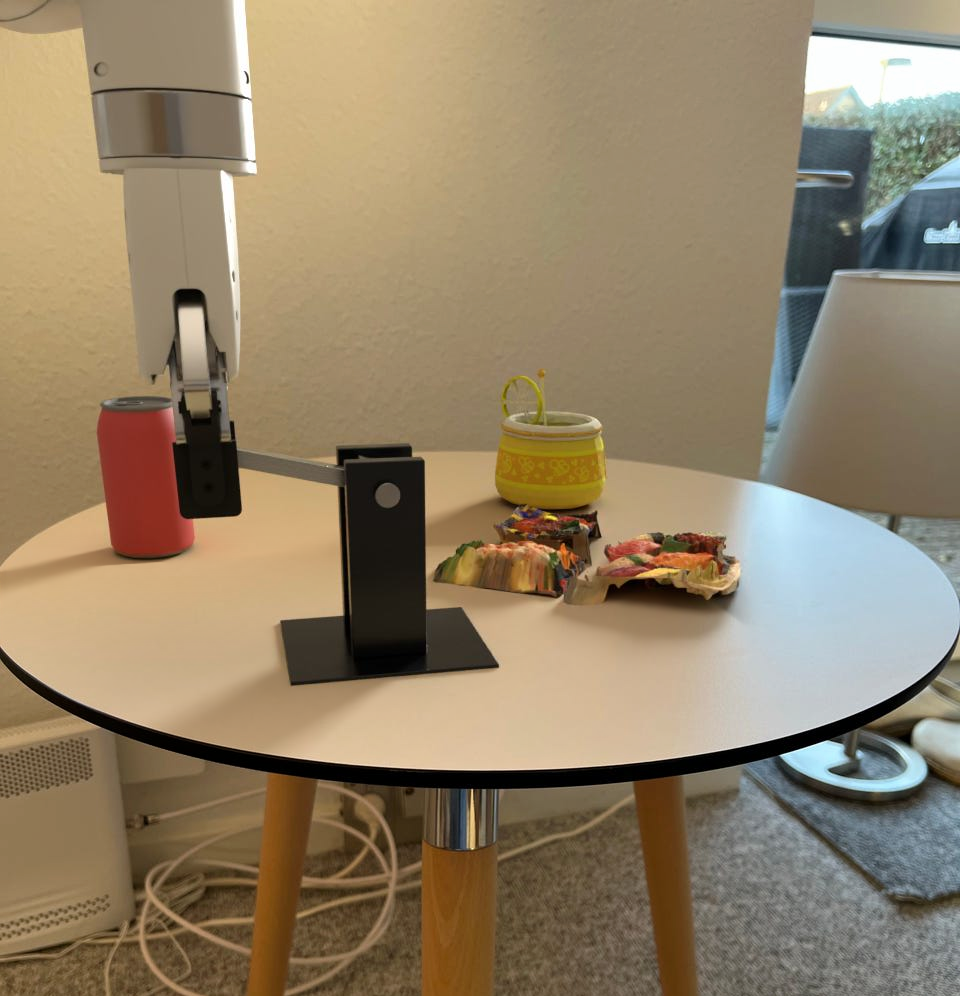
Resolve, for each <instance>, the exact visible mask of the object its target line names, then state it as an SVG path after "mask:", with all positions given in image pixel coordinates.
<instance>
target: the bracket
mask: <svg viewBox="0 0 960 996" xmlns="http://www.w3.org/2000/svg"><path fill="white" fill-rule="evenodd" d="M358 455H361V456H366V457H371V458H373V459H357V457H358ZM335 456H336V457H335V460H336V465H340V466H344V480H345V487H340V486H337V504H338V506H337V507H338V529H339V531H338V532H339V547H340V548H339V551H340V571H341V572H340V574H341V575H340V576H341V599H342V615H333V616H332V615H331V616H319V617H318V616H317V617H306V618H305V617H304V618H292V619H282V620H281V619H280V621H279V624H280V629H281V631H280V632H281V636H282V642H283V647H284V648H283V649H284V653H285V659H286V666H287V671H288V678H289V683H290V687H294V686H304V685H315V684H328V683H339V682H340V683H341V682H350V681H364V680H372V679H385V678H397V677H408V676H419V675H429V674H430V675H431V674H440V673H441V674H442V673H453V672H465V671H476V670H487V669H488V670H489V669H498V668H500V664H499V662H498V660H497V658H495V656H494V655H493V653H492V651H491V650H490V648H489V646H488V645H487V643H485V641H484V639H483V637H482V636H481V634H479V632H478V630H477V628H476V627H475V625H474V623H473V622H472V621H471V619H470V618H469V616H468V615H467V613H466V612H465V610H464V609H463V607H462V606H455V607H443V608H442V607H441V608H429V609H427V540H426V538H427V536H426V535H427V534H426V533H427V532H426V531H427V530H426V529H427V528H426V460H425V459H424V458H423V457H422V456H413V446H412V445H411V443H409V442H402V443H401V442H400V443H372V444H347V445H345V444H343V445H342V444H341V445H336V446H335Z"/></svg>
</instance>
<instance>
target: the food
mask: <svg viewBox="0 0 960 996" xmlns="http://www.w3.org/2000/svg"><path fill="white" fill-rule="evenodd" d="M529 512H530V515H529ZM598 513H599V512H598V510H597V509H596V510H595V511H593V512H591V513H582V514H575V513H574V514H558V513H551V512H547V511H544V510H541V509H537V508H534V507H531V506H530V504H521V505H517V507H516V508H515V509H514V510H513V512H512V514H510V516H509V517H508V518H507V519H506V520H505V521H504V522H500V523H498V522H495V523H494V524H493V526H492V527H493V528H494V530H495V531H496V532H497V533H498V536H499V539H500V543H499V544H497V545H496V544H493V543H485V542H483V540H482V539H480V540H472V541H470V542H468V543H465V542H464V543H461V545H460V546H458V547H457V548H456V549H455V554H454V555H452V556H448V557H447V558H446V559H445V560H443V561H441V562H439V564H437V567H436V568H435V571H434V575H433V578H432V580H434V579H435V581H436V582H437V583H440V584H447V585H455V586H463V587H470V588H474V589H475V588H476V589H492V590H499V591H504V592H505V591H506V592H511V593H520V594H524V593H533V594H541V595H550V596H553V597H554V598H555V599H559V598H561V597H562V596H563V597H562V599H563V603H564V604H565V605H569V606H593V605H598V604H603V603H605V600H606V598H607V593H608V590H609V586H610V585H615V586H616V587H617V588H618V589H620V588H621V586H622V585H624V584H625V583H627V582H629V581H630V580H644V586H645V587H646V588H648V589H654V590H655V589H661V588H662V587H663V585H673V586H674V587H675V588H679V589H680V588H681V589H682V588H683V589H684V588H686V592H687V593H691V594H694V595H701V596H703V597H704V599H705V600H706V601H709V600H710V599H711V598H712V597H713V595H715V594H719V595H721V596H726V595H729V594H731V593H732V592H733V593H734V592H735V591H736V589H738V588H739V586H740V577H741V575H742V568H741V563H740V559H738V558H737V556H736V555H734V556H731V555H726V554H724V553H723V551H724V550H726V548H727V544H725V542H726V541H727V535H724V534H723V533H720V532H717V531H708V532H707V531H706V532H705V531H704V532H698V533H695V532H694V533H693V532H683V533H681V534H680V533H679V532H678V533H676V534H674V535H673V534H670V533H665V532H660V531H659V532H647V533H645V534H640V535H637V536H635V537H633V538H631V539H628V540H625V541H622V542H621V541H619V540H618V542H617V543H618V544H617V545H615V546H612V545H611V543H609V544H608V543H607V544H605V546H604V550H603V554H604V555H605V557H606V559H607V561H608V562H609V563H608V564H606V565H605V566H602V565H601V566H600V565H599V566H597V568H596V570H595V575H593V576H592V580H589V577H588V575H587V574H584V579H585V580H584V579H580V578H579V576H580V575H582V573H585V571H586V570H587V566H586V565H589V566H591V567H593V562H592V557H591V556H592V555H591V549H590V543H589V542H590V541H589V538H592V539H601V538H603V537H602V533H601V532H602V531H601V529H600V525H599V521H598ZM586 572H587V573H588V570H587V571H586Z"/></svg>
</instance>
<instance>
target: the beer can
mask: <svg viewBox="0 0 960 996" xmlns="http://www.w3.org/2000/svg"><path fill="white" fill-rule="evenodd" d="M99 406H100V408H101V409H100V412H99V416H98V420H97V424H96V425H97V426H96V437H97V438H96V439H97V446H98V453H99V460H100V461H99V462H100V469H101V476H102V484H103V492H104V499H105V506H106V507H105V508H106V516H107V524H108V531H109V537H110V546H111V547H112V548H113V550H114V551H115V552H116V553H117V554H120V555H122V556H124V557H127V558H128V557H129V558H133V559H146V560H147V559H161V558H167V557H172V556H176V555H179V554H181V553H184V552H187V550H189V549H190V548H191V547H192V546H193V545H194V542H195V538H196V536H195V526H194V519H185V518H183V517H182V516H181V515H180V510H179V501H178V492H177V483H176V474H175V464H174V455H173V446H172V442H176V436H175V426H174V415H173V404H172V397H167V396H157V395H155V396H153V395H136V396H135V395H134V396H122V397H121V396H120V397H114V398H108V399H105V400H102V401H101V402H100V404H99Z"/></svg>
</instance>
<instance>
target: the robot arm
mask: <svg viewBox="0 0 960 996" xmlns="http://www.w3.org/2000/svg"><path fill="white" fill-rule="evenodd" d="M245 3H246V1H245V0H0V28H1V29H5V30H8V31H11V32H15V33H21V34H28V35H42V34H43V35H44V34H48V35H49V34H57V33H63V32H68V31H72V30H78V29H82V37H83V42H84V50H85V60H86V66H87V67H86V68H87V75H88V83H89V90H90V91H89V93H90V95H91V97H90V100H91V108H92V116H93V124H94V133H95V141H96V150H97V157H98V159H99V160H98V165H99V172H100V173H101V174H111V175H117V176H118V175H119V176H122V178H123V180H122V181H123V182H122V187H123V213H124V214H123V215H124V216H123V217H124V227H125V228H124V229H125V239H126V240H125V241H126V251H127V252H126V253H127V262H128V271H129V280H130V290H131V301H132V309H133V320H134V329H135V339H136V342H135V343H136V353H137V362H138V363H137V364H138V376H139V378H140V379H141V380H142V381H143V383H145V384H146V385H148V386H154V385H155V384H156V382H157V379H158V377H159V375H164V374H165V371H166V368H167V366H168V370H169V371H168V372H169V381H170V382H169V389H170V391H171V399H172V404H173V415H174V426H175V436H176V442H172V446H173V455H174V464H175V474H176V483H177V492H178V501H179V510H180V515H181V516H182V517H183V518H185V519H193V520H198V519H200V520H201V519H215V518H216V519H217V518H233V517H234V518H235V517H238V516H240V514H242V512H243V505H242V494H241V493H242V492H241V483H240V481H241V480H240V468H238V456H237V446H238V445H237V438H236V429H235V420H230V409H229V400H228V389H229V388H228V383H231V382H233V381H234V380H235V379H236V378H237V377H238V376H239V373H240V355H241V354H240V353H241V325H242V323H241V282H240V261H239V247H238V245H239V244H238V235H237V234H238V231H237V218H236V217H237V216H236V203H235V191H234V190H235V189H234V188H235V187H234V178H243V177H244V178H245V177H254V176H257V175H258V171H257V170H258V169H257V163H256V162H257V159H256V158H257V157H256V144H255V131H254V129H255V128H254V118H253V117H254V116H253V102H252V90H251V89H252V87H251V73H250V60H249V59H250V58H249V44H248V31H247V30H248V29H247V14H246V4H245Z"/></svg>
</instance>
